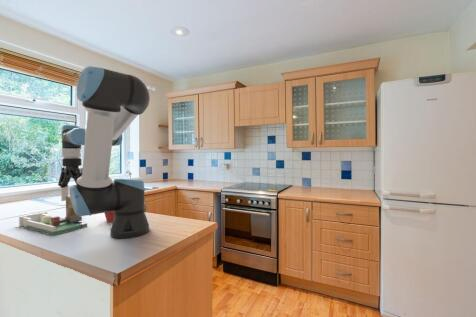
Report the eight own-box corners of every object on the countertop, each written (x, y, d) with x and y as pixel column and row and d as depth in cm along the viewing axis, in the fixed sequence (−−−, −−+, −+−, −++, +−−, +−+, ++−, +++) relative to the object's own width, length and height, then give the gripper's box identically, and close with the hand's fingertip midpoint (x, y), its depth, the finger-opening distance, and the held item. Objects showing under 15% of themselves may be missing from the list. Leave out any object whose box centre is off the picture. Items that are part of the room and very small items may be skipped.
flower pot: (117, 223, 115) (116, 203, 115) (97, 222, 117) (97, 203, 117) (131, 217, 125) (131, 199, 125) (113, 216, 127) (112, 199, 127)
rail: (87, 226, 111) (87, 223, 111) (81, 227, 109) (81, 224, 109) (59, 220, 122) (59, 217, 122) (53, 221, 119) (53, 218, 119)
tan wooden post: (81, 220, 114) (81, 195, 114) (56, 226, 105) (55, 199, 104) (74, 219, 117) (74, 194, 117) (49, 225, 107) (48, 198, 107)
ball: (54, 223, 111) (53, 214, 111) (44, 225, 108) (43, 216, 108) (49, 222, 113) (49, 213, 113) (39, 224, 110) (39, 215, 109)
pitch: (81, 228, 108) (81, 218, 108) (53, 235, 98) (53, 224, 98) (46, 220, 122) (46, 211, 122) (19, 226, 112) (18, 216, 112)
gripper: (95, 157, 111) (96, 203, 111) (66, 157, 122) (66, 198, 123) (79, 158, 104) (79, 206, 105) (49, 157, 115) (49, 200, 116)
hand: (72, 202), depth 114 cm, fingers open, 13 cm apart
